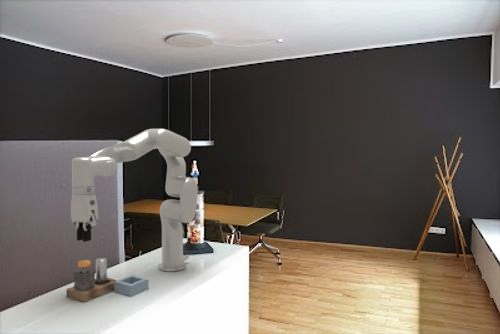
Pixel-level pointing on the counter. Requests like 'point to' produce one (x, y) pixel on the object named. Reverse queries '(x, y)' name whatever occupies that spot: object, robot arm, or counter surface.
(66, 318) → the counter surface
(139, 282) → the blue-grey square frame
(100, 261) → the grey smooth thick cylinder
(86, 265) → the release button
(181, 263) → the robot arm
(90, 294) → the socket block
